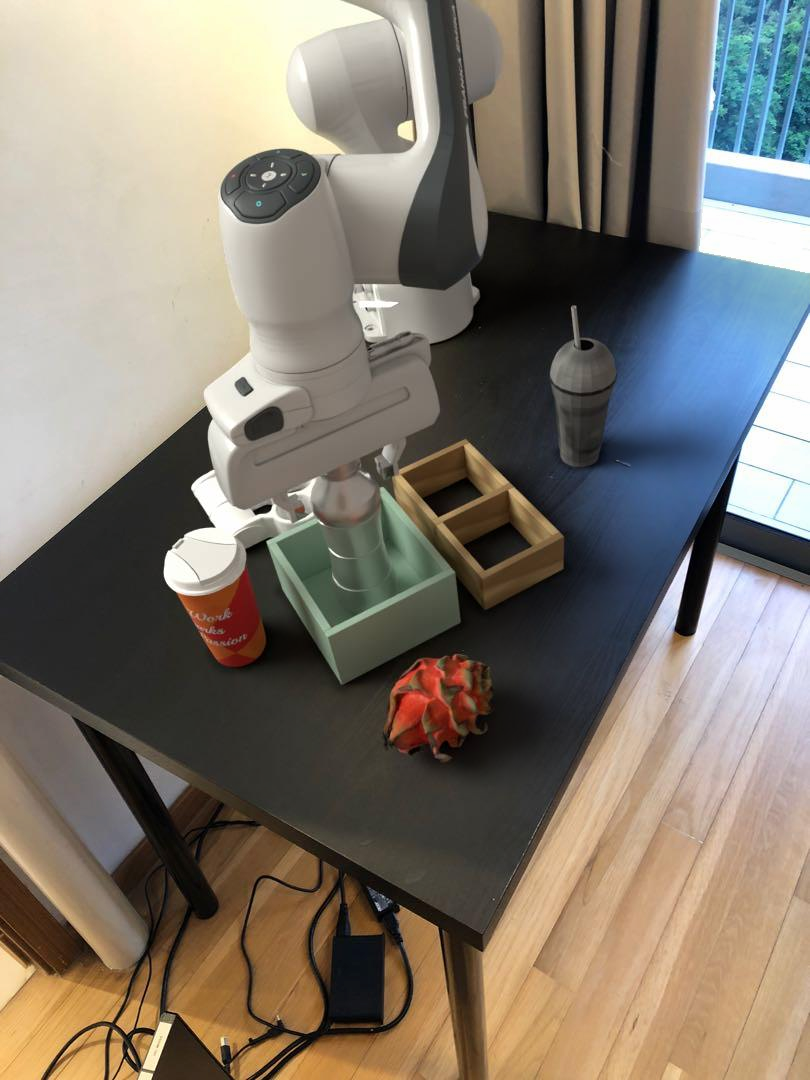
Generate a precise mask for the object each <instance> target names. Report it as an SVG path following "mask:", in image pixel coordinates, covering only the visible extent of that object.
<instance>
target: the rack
mask: <svg viewBox="0 0 810 1080" xmlns="http://www.w3.org/2000/svg"><path fill="white" fill-rule="evenodd" d="M391 479H392V480H391V481H392V484H393V491H394V496H395V501H396V502H397V503H398V505H399V506H400V507H401V508H402V509H403V511H404V512H405V513H406V514H407V515H408V517H409V518H410V519H411V520H412V521H413V523H414V524H415V525H416V526H417V527H418V529H419V530H420V531H421V532H422V533H423V535H424V536H425V537H426V538H427V539H428V540H429V542H430V543H431V544H432V545H433V546H434V548H435V549H436V550H437V551H438V552H439V554H440V555H441V556H442V557H443V558H444V560H445V561H446V562H447V563H448V564H449V566H450V567H451V568H452V569H453V571H454V572H455V576H456V577H457V578H456V579H458V581H460V583H461V584H462V585H463V586H464V587H465V588H466V590H467V591H468V592H469V593H470V595H471V596H472V597H473V598H474V599H475V601H476V602H477V603H478V604H479V605H480V606H481V607H482V609H483V610H484V611H486V610H489V609H490V608H492V607H494V606H496V605H498V604H500V603H501V602H504V601H506V600H507V599H509V598H511V597H514V596H515V595H516V594H519V593H521V592H523V591H524V590H526V589H528V588H530V587H532V586H534V585H536V584H538V583H540V582H541V581H544V580H546V579H547V578H549V577H551V576H553V575H554V574H557V573H558V572H560V571H562V570H564V559H565V558H564V557H565V556H564V555H565V554H564V553H565V536H564V535H563V534H562V533H561V532H560V531H559V530H558V529H557V528H556V527H555V526H554V525H553V523H551V522H550V521H549V520H548V519H547V518H546V517H545V516H544V515H543V514H542V513H541V512H540V511H539V510H538V509H537V508H536V507H535V506H534V505H533V504H532V503H531V502H530V501H529V500H528V499H527V498H526V496H524V495H523V494H522V493H521V492H520V491H519V490H518V489H516V487H515V486H514V485H513V484H512V483H511V482H510V481H509V480H507V478H506V477H505V476H503V474H502V473H501V472H500V471H498V469H496V467H495V466H494V465H493V464H491V462H489V460H488V459H487V458H485V456H484V455H483V454H481V452H479V451H478V449H476V447H474V445H472V444H471V442H470V441H468V439H467V438H465V439H462V440H461V441H457V442H455V443H454V444H452V445H450V446H447V447H445V448H443V449H441V450H439V451H437V452H434V453H432V454H430V455H428V456H426V457H424V458H422V459H420V460H419V459H418V460H417V461H415V462H413V463H411V464H409V465H406V466H404V467H402V468H400V469H399V474H398V475H395V476H393V477H391ZM463 479H468V481H470V483H472V485H473V486H474V487H475V488H476V489H477V490H478V491H479V492H480V493H481V494H482V496H480V497H478V498H476V499H474V500H471V501H470V502H467V503H465V504H464V505H461V506H459V507H457V508H455V509H453V510H451V511H449V512H447V513H444V514H443V515H441V516H438V515H436V513H435V512H434V511H433V510H432V508H430V506H429V505H428V504H427V503H426V502H425V501H424V498H426V497H429V496H430V495H432V494H435V493H436V492H438V491H441V490H443V489H444V488H446V487H449V486H451V485H453V484H455V483H457V482H460V481H462V480H463ZM508 523H510V524H511V525H512V526H513V528H514V529H515V530H516V531H518V533H519V534H520V535H521V536H522V537H523V538H524V539H525V540H526V541H527V542H528V543H529V544H530V545H531V547H529V548H527V549H525V550H523V551H521V552H519V553H517V554H515V555H513V556H511V557H509V558H507V559H505V560H503V561H501V562H499V563H498V564H495V565H493V566H491V567H489V568H487V569H486V570H485V569H484V568H483V567H482V566H481V564H479V562H478V561H477V560H476V559H475V558H474V557H473V556H472V555H471V553H470V552H469V551H468V550H467V549H466V547H465V546H464V545H467V544H468V543H471V542H472V541H474V540H476V539H478V538H480V537H482V536H484V535H487V534H488V533H490V532H492V531H494V530H496V529H498V528H500V527H502V526H504V525H507V524H508Z"/></svg>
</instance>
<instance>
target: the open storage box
mask: <svg viewBox="0 0 810 1080" xmlns="http://www.w3.org/2000/svg"><path fill="white" fill-rule="evenodd" d="M379 488H380V494H381V525H382V533H383V541H384V544H385V547H386V550H387V553H388V556H389V558H390V560H391V562H392V564H393V566H394V569H395V571H396V574H397V591H396V594H395V596H394V597H392V598H390V599H388V600H386V601H384V602H382V603H380V604H378V605H376V606H374V607H372V608H370V609H368V610H366V611H364V612H362V613H360V614H355V613H352V612H350V611H347V610H346V609H344V608H343V607H342V606H341V605H340V604H339V602H338V600H337V598H336V596H335V595H334V592H333V587H332V565H331V558H330V552H329V549H328V545H327V543H326V540H325V537H324V534H323V532H322V530H321V528H320V526H319V524H318V522H317V520H316V518H315V519H313V520H311V521H308V522H306V523H304V524H302V525H300V526H298V527H296V528H293V529H291V530H289V531H287V532H285V533H283V534H281V535H278V536H276V537H271V538H269V539H268V540H266V546H267V549H268V550H269V553H270V556H271V560H272V562H273V566H274V568H275V571H276V575H277V577H278V581H279V583H280V586H281V590H282V591H283V593H284V594H285V596H286V598H287V599H288V601H289V603H290V604H291V606H292V607H293V609H294V610H295V612H296V614H297V615H298V617H299V618H300V620H301V622H302V623H303V625H304V626H305V629H306V630H307V631H308V633H309V634H310V636H311V638H312V640H313V641H314V642H315V644H316V646H317V648H318V650H319V651H320V652H321V654H322V656H323V657H324V659H325V661H326V662H327V664H328V665H329V667H330V668H331V670H332V672H333V674H334V675H335V677H336V678H337V679H338V681H339V683H340V685H341V686H343V685H345V684H347V683H349V682H350V681H353V680H354V679H356V678H358V677H361V676H362V675H364V674H366V673H367V672H369V671H371V670H373V669H375V668H377V667H379V666H381V665H383V664H385V663H387V662H389V661H390V660H393V659H394V658H397V657H398V656H400V655H402V654H404V653H405V652H408V651H409V650H411V649H413V648H415V647H417V646H420V645H421V644H422V643H425V642H426V641H428V640H430V639H432V638H434V637H436V636H437V635H439V634H442V633H443V632H445V631H447V630H449V629H451V628H453V627H455V626H457V625H459V624H461V622H462V621H461V620H462V619H461V613H460V604H459V595H458V594H459V593H458V586H457V578H456V577H457V576H456V575H455V572H454V571H453V569H452V568H451V567H450V566H449V564H448V563H447V562H446V561H445V560H444V558H443V557H442V556H441V555H440V554H439V552H438V551H437V550H436V549H435V548H434V546H433V545H432V544H431V543H430V542H429V540H428V539H427V538H426V537H425V536H424V535H423V533H422V532H421V531H420V530H419V529H418V527H417V526H416V525H415V524H414V523H413V521H412V520H411V519H410V518H409V517H408V515H407V514H406V513H405V512H404V511H403V509H402V508H401V507H400V506H399V505H398V503H397V502H396V499H395V498H394V497H393V496H392V495H391V493H390V492H388V490H387V489H386V488H385V487H384V486H381V487H379Z"/></svg>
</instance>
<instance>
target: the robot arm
mask: <svg viewBox="0 0 810 1080" xmlns="http://www.w3.org/2000/svg"><path fill="white" fill-rule="evenodd" d="M340 1H341V2H345V3H347V4H350V5H353V6H356V7H358V8H361V9H364V10H366V11H368V12H371V13H373V14H376V16H377V15H378V16H380V17H381V18H380V19H375V20H371V21H365V22H361V23H356V24H351V25H346V26H343V27H337V28H333V29H329V30H327V31H324V32H322V33H320V34H318V35H316V36H313V37H312V38H310V39H307V40H305V41H303V42H302V43H299V44H297V45H296V46H295V48H294V49H293V50H292V52H291V55H290V57H289V59H288V63H287V68H286V73H285V77H286V78H285V85H286V86H285V87H286V94H287V98H288V101H289V104H290V106H291V108H292V111H293V113H294V114H295V116H296V117H297V119H298V121H300V123H301V124H302V125H303V126H304V127H305V128H307V130H309V131H310V132H312V133H313V134H315V135H317V136H319V137H321V138H323V139H325V140H327V141H329V142H330V143H332V144H333V145H334V146H336V147H337V148H338V149H339V150H341V152H342V153H344V154H342V153H315V154H313V153H312V154H310V153H309V152H306V151H303V150H299V149H295V148H274V149H269V150H264V151H259V152H257V153H255V154H253V155H251V156H248V157H247V158H245V159H243V160H241V161H240V162H238V163H237V164H236V165H235V166H233V168H231V169H230V170H229V171H228V173H227V174H226V175H225V177H224V178H223V179H222V181H221V183H220V186H219V189H218V196H217V197H218V198H217V199H218V200H217V201H218V203H217V204H218V217H219V218H218V220H219V229H220V235H221V237H220V238H221V242H222V248H223V254H224V258H225V263H226V264H225V265H226V267H227V272H228V273H227V274H228V276H229V280H230V285H231V288H232V291H233V295H234V298H235V301H236V305H237V307H238V309H239V312H241V314H242V316H243V317H244V319H245V320H246V322H247V324H248V328H249V351H248V353H246V354H245V356H243V357H242V358H241V359H240V360H239V361H238V362H237V363H235V364H234V365H233V366H232V367H230V368H229V369H227V371H225V372H224V373H223V374H222V375H220V376H219V377H217V378H216V379H214V381H212V382H211V383H209V384H208V385H207V386H206V387H205V389H204V390H203V399H204V402H205V405H206V407H207V410H208V412H209V413H210V417H211V418H212V419H211V422H210V423H209V425H208V430H207V441H208V442H207V443H208V448H209V449H208V450H209V455H210V459H211V463H212V468H213V470H214V472H215V475H216V478H217V481H218V484H219V486H220V488H221V490H222V492H223V493H224V495H225V497H226V499H227V500H228V501H229V503H230V504H231V505H232V506H234V507H236V508H238V509H241V510H246V509H249V508H251V507H253V506H255V505H257V504H259V503H262V502H264V501H266V500H268V499H270V498H271V500H272V501H273V503H274V504H275V505H277V506H279V507H280V508H282V509H284V511H285V513H286V515H287V517H288V518H289V520H290V521H291V523H292V524H293V523H295V522H297V521H299V520H301V519H303V518H305V517H307V516H308V514H306V512H305V507H304V504H303V503H302V501H301V500H299V497H298V496H297V494H293V495H291V496H289V497H288V494H287V491H288V490H290V489H292V488H295V487H297V486H299V485H301V484H303V483H306V482H308V481H310V480H312V479H314V478H317V477H319V476H321V475H323V474H325V473H327V472H330V471H332V470H334V469H336V468H338V467H341V466H343V465H345V464H347V463H349V462H352V461H354V460H356V459H358V458H360V459H361V458H363V457H365V456H367V455H369V454H371V453H374V452H376V451H378V450H380V449H382V451H381V454H379V455H377V456H374V461H375V462H374V463H375V464H376V466H375V467H376V471H377V473H378V475H379V476H380V477H382V479H383V481H386V480H389V479H392V477H393V476H395V475H398V474H399V470H400V469H399V462H400V459H401V457H402V454H403V452H404V450H405V448H406V445H407V439H406V438H407V437H408V436H410V435H411V436H412V435H413V434H415V433H417V432H420V431H422V430H424V429H426V428H429V427H431V426H433V425H434V424H435V423H436V421H437V419H438V417H439V415H440V413H441V405H440V401H439V400H440V399H439V396H438V395H439V394H438V392H437V388H436V385H435V384H436V383H435V381H434V378H433V375H432V373H431V370H430V366H431V362H432V352H431V344H436V343H440V342H443V341H446V340H448V339H451V338H453V337H455V336H456V335H458V334H460V333H461V332H463V331H464V330H465V329H466V328H467V327H468V325H469V324H470V323H471V321H472V320H473V317H474V307H475V305H476V304H477V303H478V301H480V299H481V293H480V290H479V288H477V287H476V286H474V285H473V284H472V278H471V272H472V271H473V270H474V269H475V268H476V266H478V264H480V263H481V261H482V260H483V257H484V253H485V248H486V244H487V239H488V232H489V217H488V216H489V215H488V208H487V207H488V206H487V200H486V196H485V192H484V191H485V190H484V188H483V184H482V180H481V176H480V172H479V169H478V164H477V158H476V152H475V146H474V145H475V144H474V137H473V136H474V135H473V129H472V128H473V127H472V121H471V120H472V119H471V112H470V105H471V104H474V103H476V102H478V101H480V100H482V99H485V98H486V97H488V96H490V95H491V94H492V93H493V91H494V89H495V88H496V86H497V85H498V82H499V80H500V76H501V73H502V69H503V63H504V49H503V48H504V47H503V42H502V38H501V35H500V32H499V29H498V27H497V25H496V23H495V22H494V20H493V19H492V18H491V17H490V15H489V14H488V13H487V12H486V11H485V10H484V9H482V8H481V7H480V6H478V5H477V4H475V3H473V2H471V1H470V0H340ZM409 121H415V128H416V141H414V140H410V139H408V138H404V137H402V136H401V135H399V126H400V125H402V124H404V123H406V122H409ZM366 342H368V343H372V344H371V345H368V346H367V343H366Z"/></svg>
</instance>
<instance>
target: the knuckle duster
mask: <svg viewBox="0 0 810 1080" xmlns="http://www.w3.org/2000/svg"><path fill="white" fill-rule="evenodd" d="M317 478H318V477H317ZM317 478H314V479H312V480H310V481H308V482H306V483H303V484H301V485H299V486H297V487H295V488H292V489H290V490H288V491H287V494H288V497H289V496H291V495H293V494H297V496H298V497H299V500H301V501H302V503H303V504H304V507H305V512H306V514H307V517H305V518H303V519H301V520H299V521H297V522H295V523H293V524H292V523H291V521H290V520H289V518H288V517H287V515H286V513H285V511H284V509H282V508H280V507H279V506H277V505H275V504H274V503H273V501H272V500H271V498H270V499H268V500H266V501H264V502H262V503H259V504H257V505H255V506H253V507H251V508H249V509H246V510H241V509H238V508H236V507H234V506H232V505H231V504H230V503H229V501H228V500H227V499H226V497H225V495H224V493H223V492H222V490H221V488H220V486H219V484H218V481H217V478H216V475H215V472H214V469H212V470H210V471H209V472H207V473H205V474H203V475H202V476H200V477H199V478H197V479H196V480H195V481H194V482H193V483H192V485H191V491H192V494H193V496H194V497H195V498H196V499H197V501H198V502H199V504H200V506H201V507H202V509H203V510H204V511H205V513H206V515H207V516H208V519H209V520H210V522H211V523H212V524H213V526H214V528H218V529H222V530H225V531H227V532H229V533H230V534H231V535H233V536H234V537H235V538H236V539H238V540H239V541H240V542H241V543H242V544H243V546H244V548H245V550H246V549H248V548H250V547H253V546H254V545H256V544H258V543H260V542H262V541H264V540H266V539H268V538H269V539H270V538H274V537H276V536H278V535H281V534H283V533H285V532H287V531H289V530H291V529H293V528H296V527H298V526H300V525H302V524H304V523H306V522H308V521H311V520H313V519H315V515H314V514H313V511H312V508H311V504H310V498H311V490H312V488H313V485H314V484H315V482H316V480H317ZM266 505H267V506H268V505H270V506H271V510H270V511H268V512H266V513H259V514H256V513H255V512H254V511H255V510H258V509H260V508H261V507H264V506H266Z"/></svg>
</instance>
